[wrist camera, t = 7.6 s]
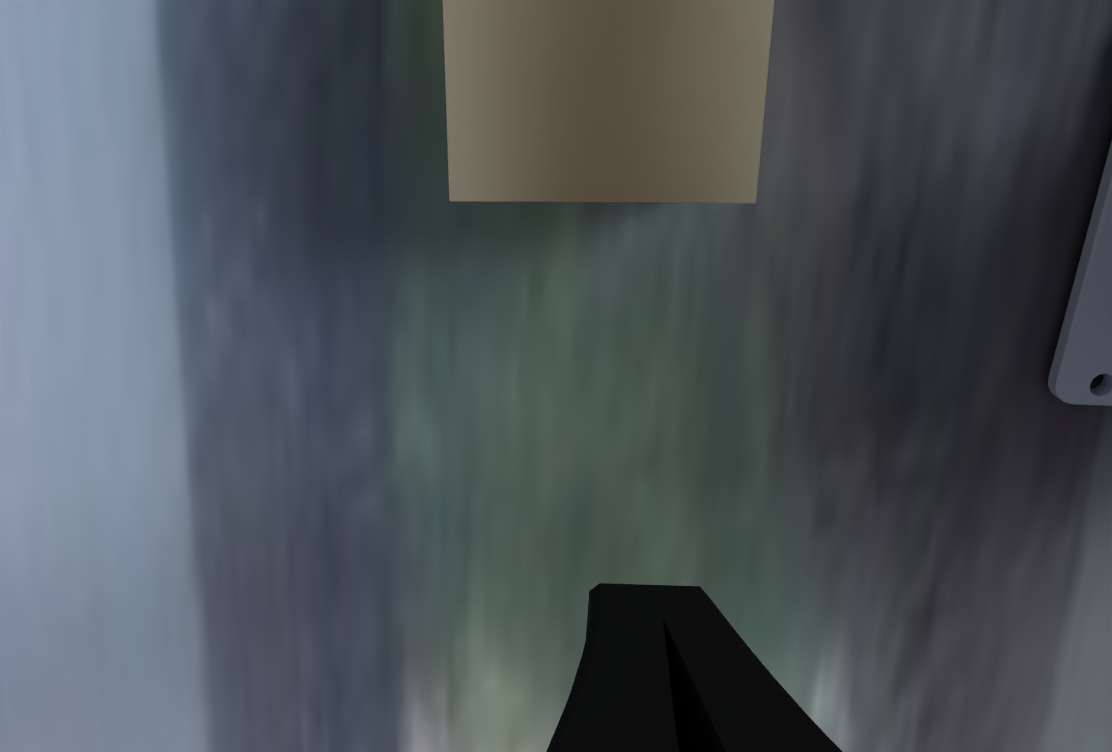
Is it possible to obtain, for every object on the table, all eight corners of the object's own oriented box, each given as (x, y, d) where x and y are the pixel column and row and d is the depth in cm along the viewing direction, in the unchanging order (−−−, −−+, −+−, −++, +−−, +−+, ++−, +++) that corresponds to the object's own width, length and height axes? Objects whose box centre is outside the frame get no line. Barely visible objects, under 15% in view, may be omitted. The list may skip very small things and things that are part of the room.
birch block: (730, -104, 16) (788, -148, 12) (711, 169, 18) (755, 202, 14) (460, -108, 16) (437, -153, 12) (467, 167, 18) (449, 201, 14)
